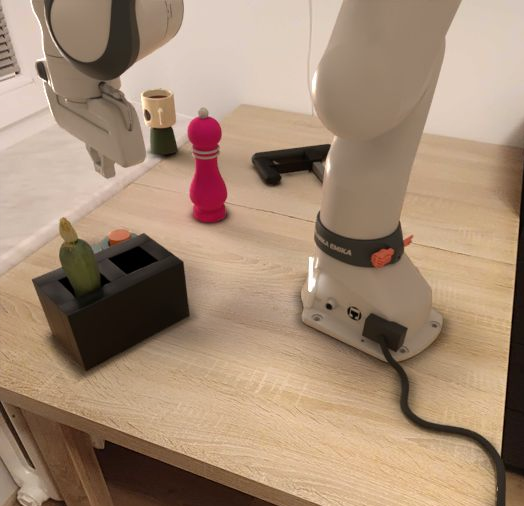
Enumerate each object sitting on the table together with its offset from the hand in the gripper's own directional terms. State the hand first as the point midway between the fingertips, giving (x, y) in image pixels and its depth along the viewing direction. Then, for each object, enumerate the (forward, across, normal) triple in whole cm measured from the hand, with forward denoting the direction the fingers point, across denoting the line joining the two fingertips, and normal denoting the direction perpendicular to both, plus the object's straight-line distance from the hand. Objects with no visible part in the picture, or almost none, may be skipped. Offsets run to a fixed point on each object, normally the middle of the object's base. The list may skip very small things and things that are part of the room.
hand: (105, 174), depth 75 cm
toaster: (+16, -14, +9) cm, 23 cm away
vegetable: (+16, -14, +13) cm, 25 cm away
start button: (+12, 0, 0) cm, 12 cm away
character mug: (+16, +33, -31) cm, 48 cm away
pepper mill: (+16, +3, -21) cm, 27 cm away
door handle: (+16, +4, -48) cm, 51 cm away
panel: (+16, 0, 0) cm, 16 cm away
